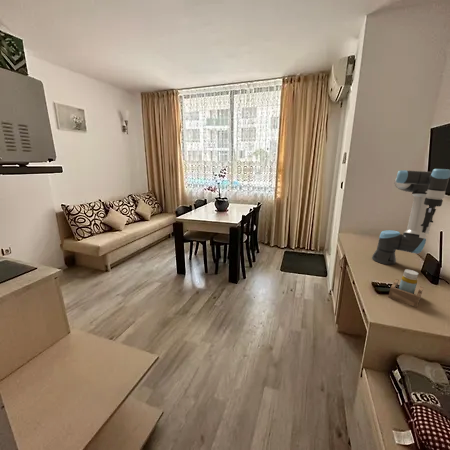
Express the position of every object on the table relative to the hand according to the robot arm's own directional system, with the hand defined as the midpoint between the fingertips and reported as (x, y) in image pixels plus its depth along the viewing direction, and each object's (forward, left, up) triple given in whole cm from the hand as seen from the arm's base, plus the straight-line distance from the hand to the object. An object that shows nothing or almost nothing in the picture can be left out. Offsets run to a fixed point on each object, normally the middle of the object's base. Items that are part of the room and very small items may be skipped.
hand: (423, 235), depth 138 cm
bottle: (+15, 0, -33) cm, 36 cm away
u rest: (+16, 0, -33) cm, 36 cm away
